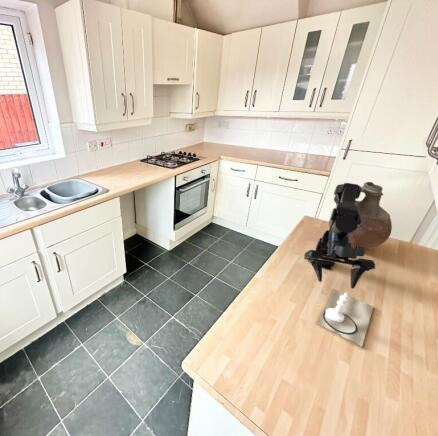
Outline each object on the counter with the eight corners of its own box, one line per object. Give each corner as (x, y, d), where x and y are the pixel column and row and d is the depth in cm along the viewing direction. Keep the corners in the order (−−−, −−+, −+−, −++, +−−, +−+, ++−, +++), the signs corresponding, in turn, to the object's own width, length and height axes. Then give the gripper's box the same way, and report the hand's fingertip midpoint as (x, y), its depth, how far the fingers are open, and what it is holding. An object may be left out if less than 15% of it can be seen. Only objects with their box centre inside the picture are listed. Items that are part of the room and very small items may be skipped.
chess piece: (344, 314, 79) (356, 291, 74) (343, 324, 76) (356, 302, 71) (326, 307, 82) (336, 285, 77) (325, 317, 78) (336, 294, 73)
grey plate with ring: (318, 323, 77) (319, 322, 77) (334, 290, 89) (335, 289, 89) (361, 347, 70) (362, 345, 70) (372, 308, 82) (373, 306, 82)
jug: (374, 266, 101) (411, 200, 86) (316, 244, 115) (339, 185, 100) (383, 245, 113) (416, 185, 99) (329, 228, 127) (351, 173, 113)
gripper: (316, 230, 81) (312, 276, 77) (386, 240, 75) (385, 291, 71) (305, 237, 91) (301, 278, 87) (366, 247, 85) (364, 292, 81)
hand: (336, 285), depth 81 cm, fingers open, 9 cm apart
